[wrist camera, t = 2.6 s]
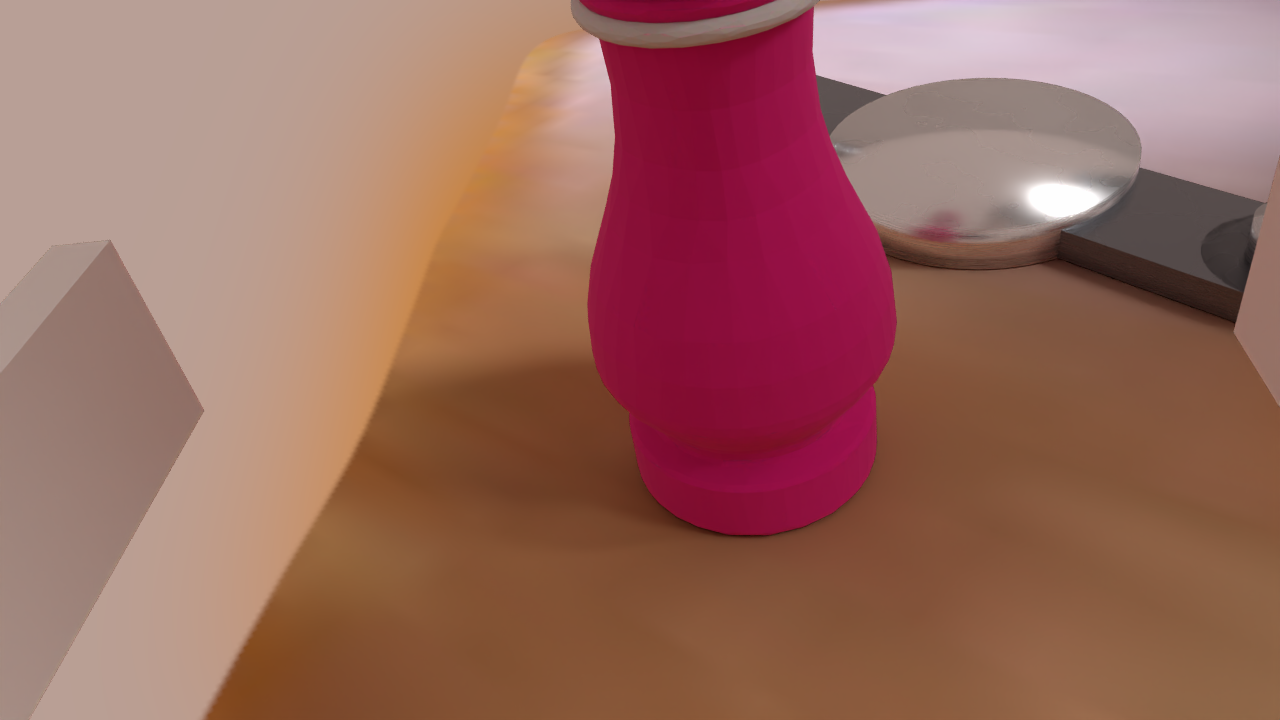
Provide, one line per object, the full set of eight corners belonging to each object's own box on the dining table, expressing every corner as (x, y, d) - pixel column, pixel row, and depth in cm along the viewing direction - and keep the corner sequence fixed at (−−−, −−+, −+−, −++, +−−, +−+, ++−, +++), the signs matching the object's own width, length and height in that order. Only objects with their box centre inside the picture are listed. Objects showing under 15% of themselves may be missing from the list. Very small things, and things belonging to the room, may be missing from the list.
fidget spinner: (632, 151, 41) (623, 100, 40) (802, 55, 46) (799, 6, 44) (1281, 414, 26) (1303, 345, 24) (1443, 230, 30) (1469, 162, 29)
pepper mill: (950, 419, 27) (995, -611, 15) (786, 605, 24) (663, -560, 11) (732, 331, 32) (624, -527, 19) (565, 476, 28) (296, -469, 15)
